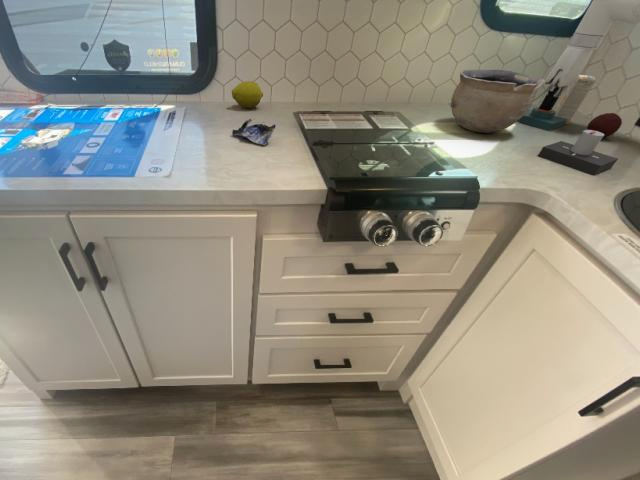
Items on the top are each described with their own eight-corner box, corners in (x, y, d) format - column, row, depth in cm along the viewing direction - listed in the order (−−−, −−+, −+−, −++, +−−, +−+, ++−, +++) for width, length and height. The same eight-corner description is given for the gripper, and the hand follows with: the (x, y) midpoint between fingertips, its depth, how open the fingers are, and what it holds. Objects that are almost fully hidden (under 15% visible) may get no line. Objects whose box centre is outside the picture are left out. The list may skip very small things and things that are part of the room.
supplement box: (568, 124, 117) (597, 80, 108) (551, 121, 119) (578, 78, 110) (567, 118, 123) (594, 75, 113) (551, 116, 124) (577, 73, 115)
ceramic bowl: (481, 144, 101) (510, 86, 91) (425, 121, 115) (445, 68, 105) (529, 136, 108) (562, 80, 98) (471, 115, 122) (495, 64, 112)
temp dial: (574, 148, 95) (589, 127, 91) (593, 153, 92) (608, 132, 88) (567, 150, 93) (581, 130, 89) (585, 156, 90) (601, 135, 86)
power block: (563, 126, 116) (571, 113, 113) (547, 130, 112) (556, 117, 110) (527, 116, 123) (534, 103, 121) (511, 119, 120) (518, 107, 117)
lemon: (261, 105, 123) (263, 79, 117) (263, 111, 117) (265, 84, 112) (231, 104, 123) (231, 78, 117) (231, 110, 117) (231, 83, 111)
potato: (601, 133, 112) (618, 109, 107) (615, 142, 106) (634, 118, 101) (576, 130, 113) (592, 107, 108) (588, 139, 107) (606, 115, 102)
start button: (550, 116, 116) (553, 110, 115) (544, 117, 114) (547, 111, 113) (539, 113, 118) (542, 107, 117) (533, 114, 117) (536, 108, 115)
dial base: (611, 167, 92) (619, 158, 90) (593, 175, 88) (601, 165, 86) (555, 149, 100) (561, 140, 98) (537, 155, 96) (543, 146, 95)
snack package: (234, 147, 94) (276, 146, 95) (233, 121, 91) (277, 120, 91) (231, 139, 104) (269, 138, 105) (231, 115, 100) (270, 114, 101)
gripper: (583, 38, 107) (544, 103, 120) (559, 40, 102) (521, 109, 114) (610, 42, 103) (567, 110, 116) (587, 45, 97) (544, 115, 110)
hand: (544, 109), depth 115 cm, fingers closed
